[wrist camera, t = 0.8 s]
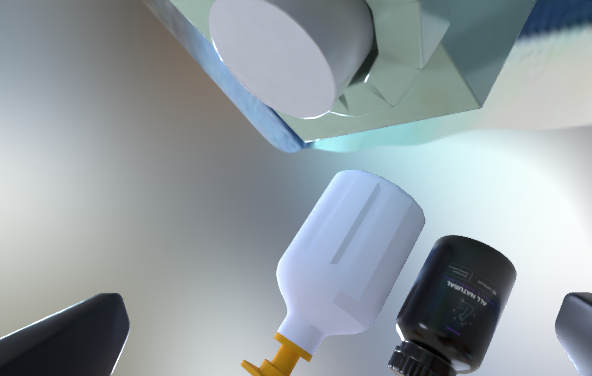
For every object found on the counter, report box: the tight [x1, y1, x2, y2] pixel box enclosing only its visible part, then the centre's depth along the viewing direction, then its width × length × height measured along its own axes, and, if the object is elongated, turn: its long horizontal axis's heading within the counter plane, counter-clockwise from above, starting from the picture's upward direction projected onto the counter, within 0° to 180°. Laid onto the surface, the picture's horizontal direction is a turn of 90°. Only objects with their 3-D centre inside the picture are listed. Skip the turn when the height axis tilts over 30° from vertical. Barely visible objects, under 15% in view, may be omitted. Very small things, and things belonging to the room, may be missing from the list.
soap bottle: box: [241, 169, 425, 376], centre depth 29 cm, size 9×9×25 cm
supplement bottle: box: [387, 235, 516, 376], centre depth 30 cm, size 7×7×12 cm
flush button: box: [208, 0, 373, 119], centre depth 10 cm, size 4×4×2 cm
